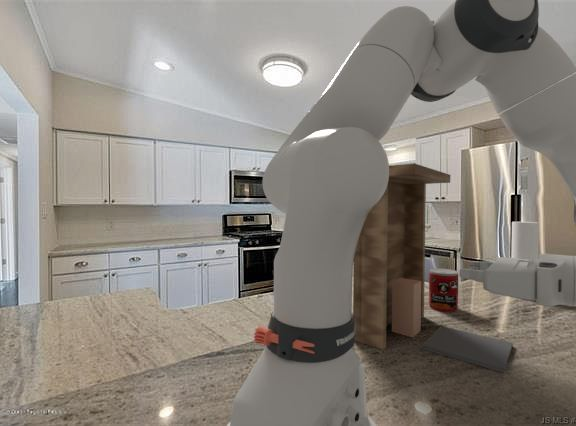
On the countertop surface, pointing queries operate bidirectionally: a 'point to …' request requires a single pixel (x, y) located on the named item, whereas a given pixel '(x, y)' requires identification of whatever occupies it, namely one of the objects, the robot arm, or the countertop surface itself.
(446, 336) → the mat
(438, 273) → the canned food
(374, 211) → the shelf
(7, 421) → the countertop surface
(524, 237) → the cylindrical container
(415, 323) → the block
